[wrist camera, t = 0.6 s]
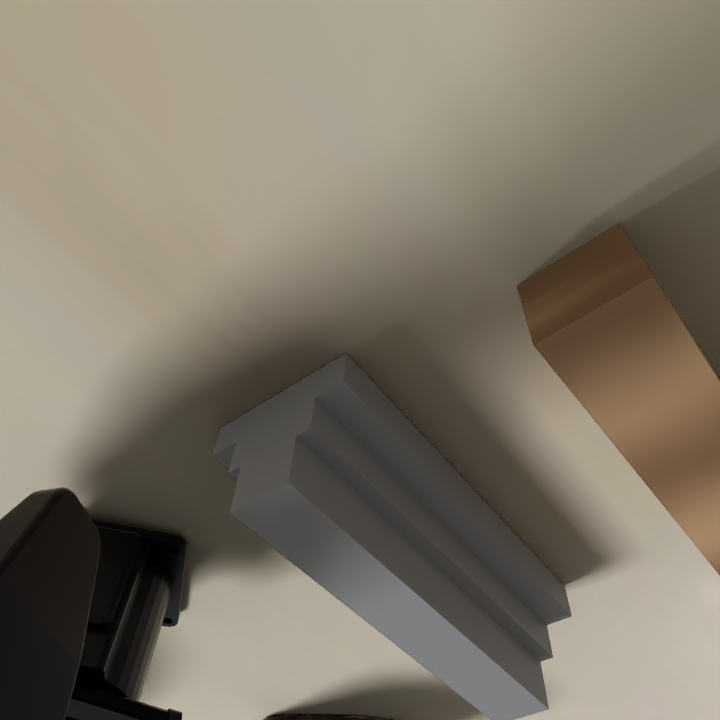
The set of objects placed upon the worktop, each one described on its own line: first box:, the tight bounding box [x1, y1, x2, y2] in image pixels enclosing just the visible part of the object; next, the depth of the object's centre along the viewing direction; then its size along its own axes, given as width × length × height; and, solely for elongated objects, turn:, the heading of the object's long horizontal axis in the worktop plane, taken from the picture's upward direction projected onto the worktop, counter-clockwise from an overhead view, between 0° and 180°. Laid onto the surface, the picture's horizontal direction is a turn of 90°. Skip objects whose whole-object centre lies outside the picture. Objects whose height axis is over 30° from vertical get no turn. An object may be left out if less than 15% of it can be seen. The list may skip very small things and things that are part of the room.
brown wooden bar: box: [517, 223, 720, 575], centre depth 23 cm, size 14×4×4 cm, turn 39°
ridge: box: [212, 353, 571, 720], centre depth 26 cm, size 16×6×5 cm, turn 37°
